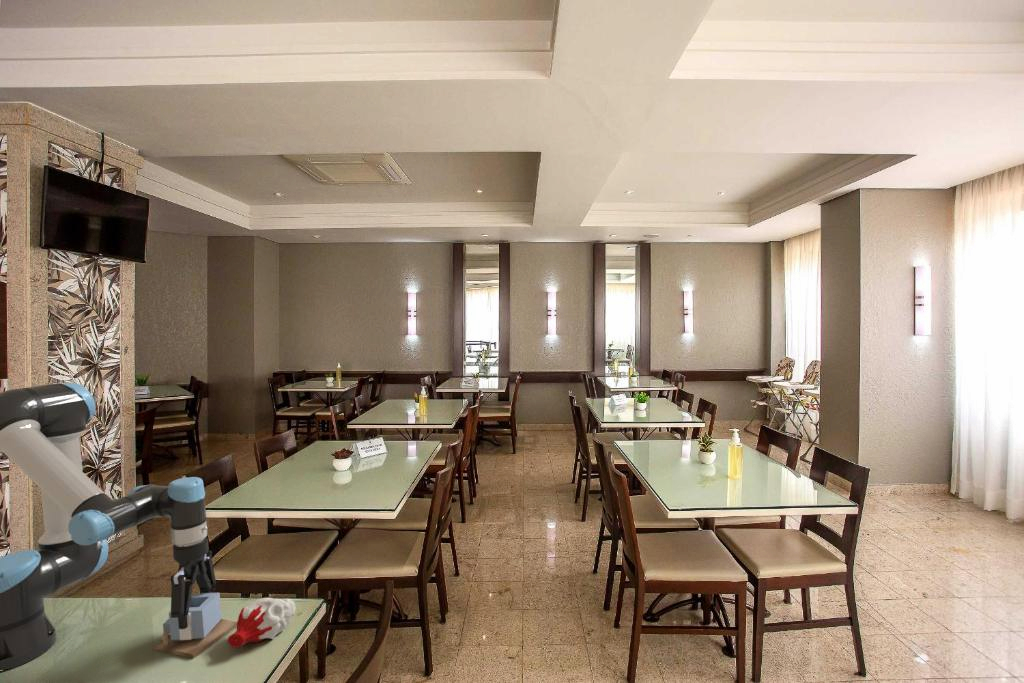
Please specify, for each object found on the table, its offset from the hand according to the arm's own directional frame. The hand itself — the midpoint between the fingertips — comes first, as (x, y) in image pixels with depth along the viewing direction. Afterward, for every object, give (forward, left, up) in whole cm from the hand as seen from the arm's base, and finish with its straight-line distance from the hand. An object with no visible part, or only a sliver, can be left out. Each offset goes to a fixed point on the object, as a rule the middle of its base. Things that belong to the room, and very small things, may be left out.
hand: (196, 627), depth 128 cm
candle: (+16, +4, -3) cm, 17 cm away
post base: (0, 0, -2) cm, 2 cm away
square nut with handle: (-2, -1, 0) cm, 2 cm away
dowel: (-3, -6, -2) cm, 7 cm away
